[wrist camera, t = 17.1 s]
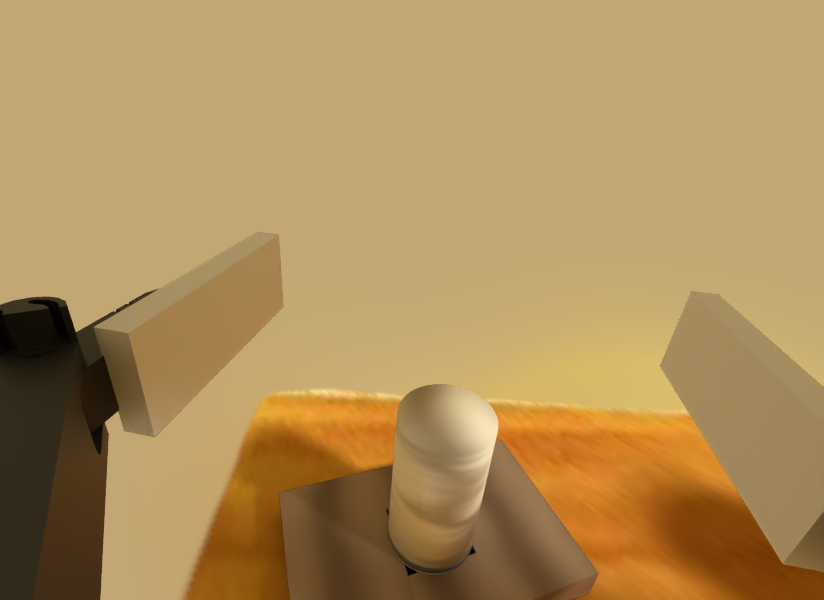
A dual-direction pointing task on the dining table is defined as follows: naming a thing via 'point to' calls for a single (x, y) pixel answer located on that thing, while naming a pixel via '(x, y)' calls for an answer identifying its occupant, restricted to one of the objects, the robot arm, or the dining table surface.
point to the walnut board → (423, 593)
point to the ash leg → (439, 475)
